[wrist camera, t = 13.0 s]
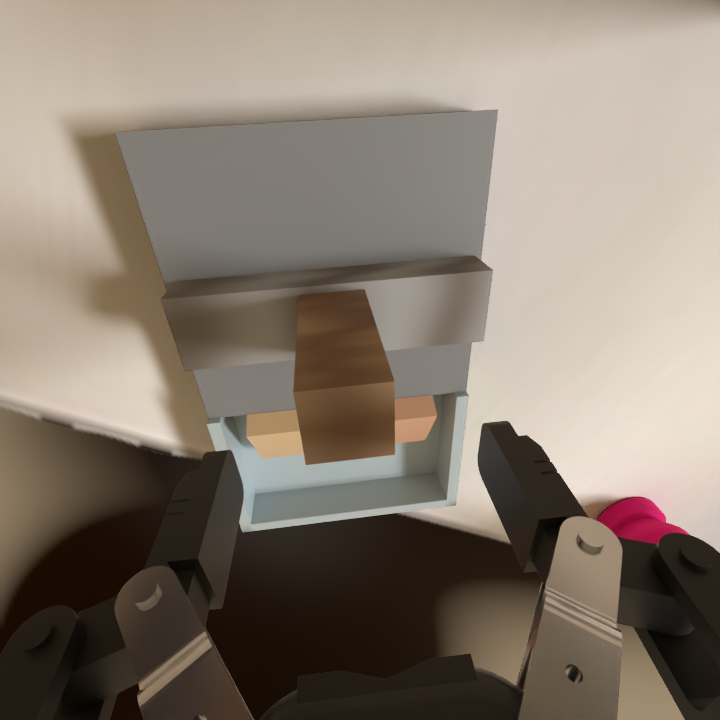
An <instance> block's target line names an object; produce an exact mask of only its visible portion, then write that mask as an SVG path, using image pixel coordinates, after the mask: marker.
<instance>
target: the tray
mask: <svg viewBox="0 0 720 720" xmlns="http://www.w3.org/2000/svg"><path fill="white" fill-rule="evenodd" d="M468 397H469V396H468V394H467V392H456V393H447V394H438V395H433V399H434V404H435V408H436V412H437V418H436V420H435V422H434V424H433V426H432V428H431V430H430V432H429V434H428V436H427V438H426V440H423V441H414V442H405V443H397V444H395V455H389V456H380V457H372V458H363V459H355V460H346V461H338V462H329V463H321V464H312V465H306V463H305V458H304V454H300V455H291V456H283V457H274V458H265V459H263V458H262V457H261V456H260V454H259V453H258V452H257V450H256V449H255V448H254V446H253V445H252V444H251V442H250V441H249V440H248V438H247V437H246V429H247V415H241V416H232V417H223V418H213V419H208V422H207V427H208V430H209V433H210V436H211V439H212V442H213V445H214V448H215V451H223V450H231V451H232V452H233V455H234V458H235V461H236V464H237V467H238V470H239V473H240V476H241V479H242V483H243V489H244V499H243V505H242V510H241V515H240V520H239V523H240V526H241V529H242V532H249V531H256V530H264V529H272V528H280V527H288V526H296V525H304V524H312V523H320V522H328V521H335V520H344V519H352V518H359V517H367V516H375V515H383V514H391V513H399V512H407V511H415V510H423V509H431V508H439V507H447V506H454V505H456V499H457V491H458V482H459V474H460V465H461V457H462V448H463V440H464V431H465V423H466V414H467V406H468Z"/></svg>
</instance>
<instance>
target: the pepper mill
mask: <svg viewBox="0 0 720 720" xmlns="http://www.w3.org/2000/svg"><path fill="white" fill-rule="evenodd" d="M597 521H598V522H600V523H602V524H604V525H605V526H606V527H608V528H609V529H610V530H611V531H612V532H613V533H614V534H615V535H616V536H618V537H622V538H626V539H631V540H637V541H643V542H648V543H654V544H658V542H659V540H660V539H661V537H663V536H664V535H666V534H669V533H683V534H687V535H689V534H688V533H687V532H686V531H685V530H683V529H681V528H680V527H678V526H675V525H672V524H668V523H666V517H665V515H664V514H663V513H662V512H661V511H660V509H659V508H658V507H657V506H656V505H655V504H654V503H653V502H652V501H651V500H649V499H646V498H640V497H636V498H629V499H625V500H622V501H620V502H618V503H615V504H613V505H612V506H610V507H609V508H607V509H606V510H605V511H604V512H603V513H602V514H601V515H600V516H599V518H598V519H597Z"/></svg>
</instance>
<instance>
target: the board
mask: <svg viewBox="0 0 720 720" xmlns="http://www.w3.org/2000/svg"><path fill="white" fill-rule="evenodd" d="M497 113H498V110H482V111H465V112H448V113H430V114H413V115H396V116H379V117H362V118H345V119H328V120H311V121H294V122H277V123H260V124H243V125H226V126H209V127H192V128H175V129H158V130H141V131H124V132H115V134H116V137H117V140H118V143H119V146H120V149H121V152H122V155H123V158H124V161H125V164H126V167H127V171H128V174H129V177H130V180H131V183H132V186H133V189H134V192H135V195H136V198H137V201H138V204H139V207H140V210H141V214H142V217H143V220H144V223H145V226H146V229H147V232H148V235H149V238H150V241H151V244H152V247H153V250H154V254H155V257H156V260H157V263H158V266H159V269H160V272H161V275H162V278H163V281H164V284H165V287H166V290H167V291H168V290H169V289H170V288H171V286H172V285H173V284H174V283H175V282H176V281H182V280H194V279H205V278H217V277H229V276H240V275H252V274H264V273H276V272H287V271H299V270H311V269H322V268H334V267H346V266H358V265H369V264H381V263H393V262H405V261H416V260H428V259H440V258H451V257H463V256H476V257H477V258H479V259H480V260H481V255H482V246H483V237H484V228H485V220H486V211H487V202H488V193H489V184H490V175H491V166H492V157H493V149H494V140H495V131H496V122H497ZM471 344H472V342H470V343H460V344H450V345H440V346H430V347H420V348H410V349H400V350H390V351H385V353H386V356H387V360H388V363H389V366H390V369H391V372H392V375H393V378H394V381H395V399H398V398H407V397H417V396H427V395H438V394H447V393H456V392H466V388H467V379H468V370H469V362H470V353H471ZM294 370H295V360H290V361H280V362H270V363H260V364H250V365H240V366H230V367H220V368H210V369H200V370H193V373H194V376H195V380H196V383H197V386H198V389H199V392H200V395H201V398H202V401H203V404H204V407H205V410H206V413H207V416H208V419H213V418H223V417H232V416H241V415H248V414H257V413H266V412H276V411H285V410H294V409H296V406H295V400H294V394H293V386H294Z"/></svg>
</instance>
